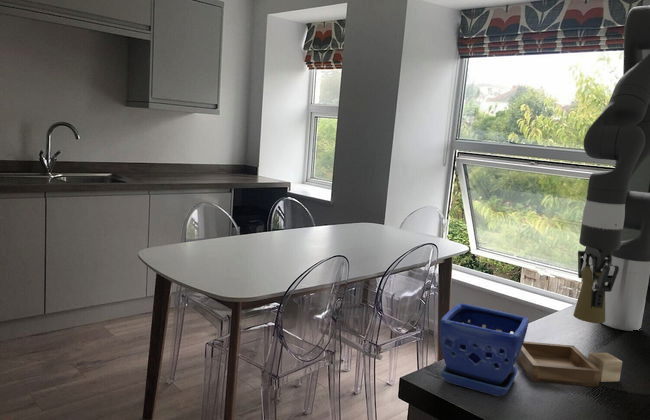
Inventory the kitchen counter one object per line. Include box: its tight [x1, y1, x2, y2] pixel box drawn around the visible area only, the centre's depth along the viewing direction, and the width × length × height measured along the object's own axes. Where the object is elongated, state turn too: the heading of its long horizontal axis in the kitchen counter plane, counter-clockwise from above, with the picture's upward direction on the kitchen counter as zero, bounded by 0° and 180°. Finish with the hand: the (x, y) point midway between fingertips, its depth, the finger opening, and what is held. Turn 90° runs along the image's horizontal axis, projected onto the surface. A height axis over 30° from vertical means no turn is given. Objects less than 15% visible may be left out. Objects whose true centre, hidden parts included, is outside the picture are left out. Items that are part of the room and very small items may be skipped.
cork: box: [573, 266, 605, 324], centre depth 112 cm, size 6×6×11 cm
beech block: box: [587, 352, 623, 383], centre depth 103 cm, size 4×4×4 cm
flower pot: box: [439, 303, 530, 397], centre depth 96 cm, size 13×13×12 cm
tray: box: [516, 340, 601, 388], centre depth 104 cm, size 12×12×3 cm
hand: (590, 304), depth 113 cm, fingers closed on cork, 3 cm apart
